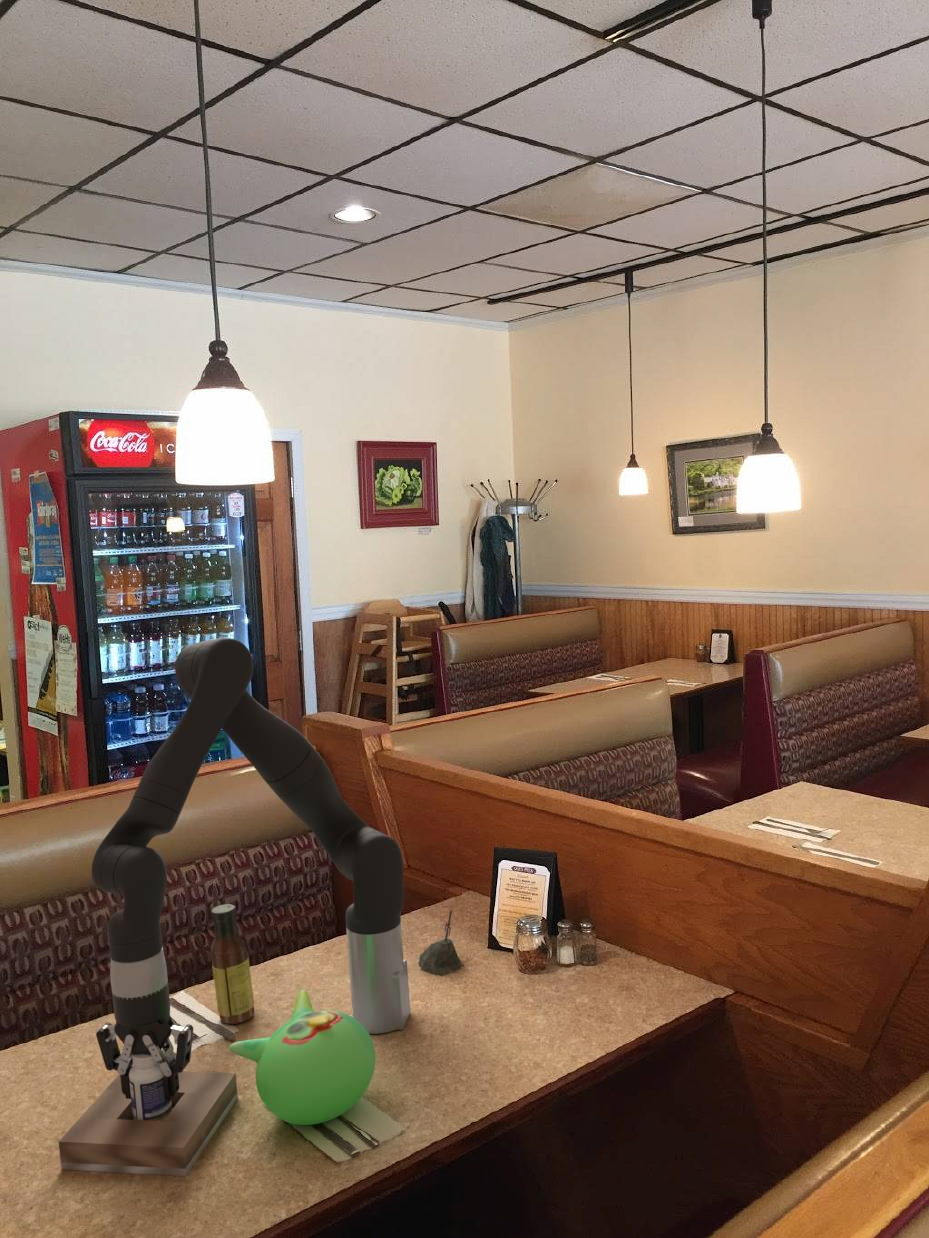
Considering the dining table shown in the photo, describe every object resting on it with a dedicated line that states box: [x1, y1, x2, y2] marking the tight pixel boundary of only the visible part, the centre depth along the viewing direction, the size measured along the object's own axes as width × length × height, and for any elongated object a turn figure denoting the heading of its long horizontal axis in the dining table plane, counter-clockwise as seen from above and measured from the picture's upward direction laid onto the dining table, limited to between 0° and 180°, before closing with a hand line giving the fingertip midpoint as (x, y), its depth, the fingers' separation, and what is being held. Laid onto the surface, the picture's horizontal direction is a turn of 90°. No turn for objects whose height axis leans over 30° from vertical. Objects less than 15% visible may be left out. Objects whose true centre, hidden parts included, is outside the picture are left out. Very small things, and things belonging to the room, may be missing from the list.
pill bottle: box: [129, 1049, 172, 1121], centre depth 145 cm, size 5×5×10 cm
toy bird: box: [229, 989, 376, 1126], centre depth 148 cm, size 18×17×15 cm
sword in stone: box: [418, 909, 465, 977], centre depth 194 cm, size 10×8×12 cm
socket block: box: [58, 1070, 239, 1177], centre depth 145 cm, size 18×18×4 cm
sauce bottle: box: [210, 903, 255, 1025], centre depth 177 cm, size 7×6×20 cm
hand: (151, 1095), depth 145 cm, fingers closed on pill bottle, 5 cm apart
